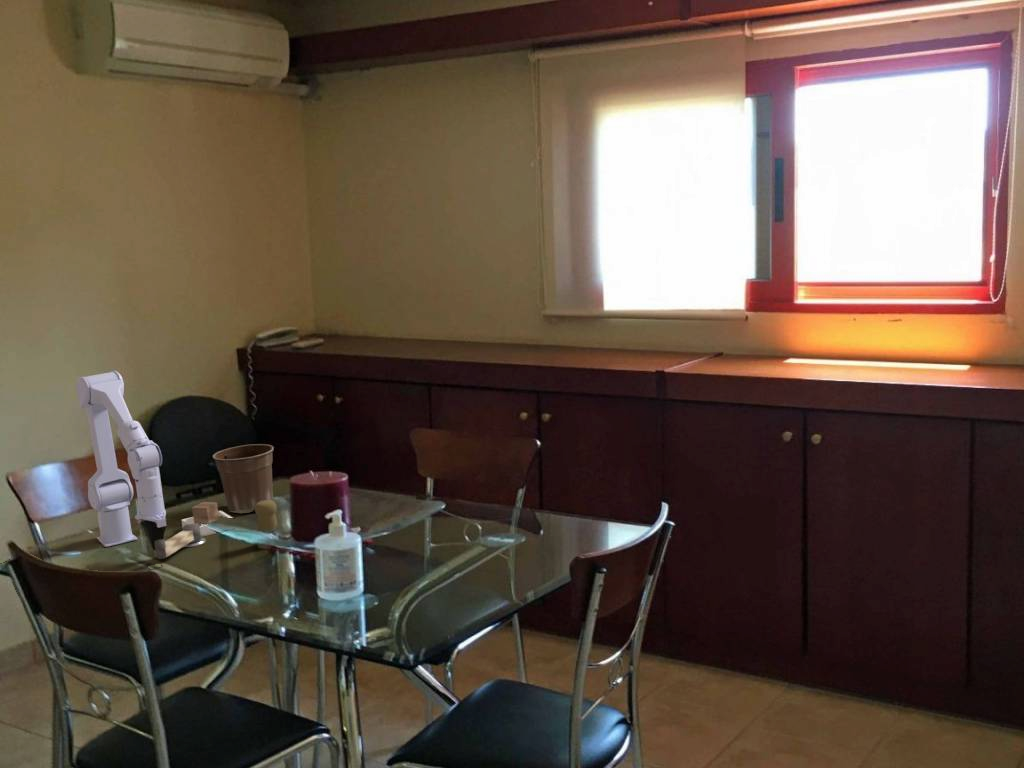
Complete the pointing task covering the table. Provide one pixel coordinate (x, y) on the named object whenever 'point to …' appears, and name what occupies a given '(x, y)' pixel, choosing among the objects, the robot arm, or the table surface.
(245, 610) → the table surface
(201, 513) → the block
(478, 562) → the table surface
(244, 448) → the plant pot
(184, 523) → the tray
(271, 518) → the cork
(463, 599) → the table surface
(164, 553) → the crank
